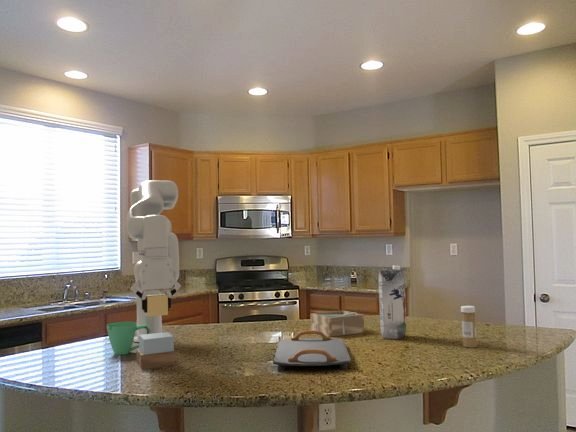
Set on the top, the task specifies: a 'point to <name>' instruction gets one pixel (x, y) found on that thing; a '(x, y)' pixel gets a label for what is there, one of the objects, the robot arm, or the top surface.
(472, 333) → the sprinkles bottle
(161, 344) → the slate block
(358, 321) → the coaster caddy
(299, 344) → the serving board
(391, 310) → the juice carton
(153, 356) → the walnut block
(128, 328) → the mug
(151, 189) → the robot arm
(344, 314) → the right angle wall
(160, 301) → the ochre cube
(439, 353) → the top surface
